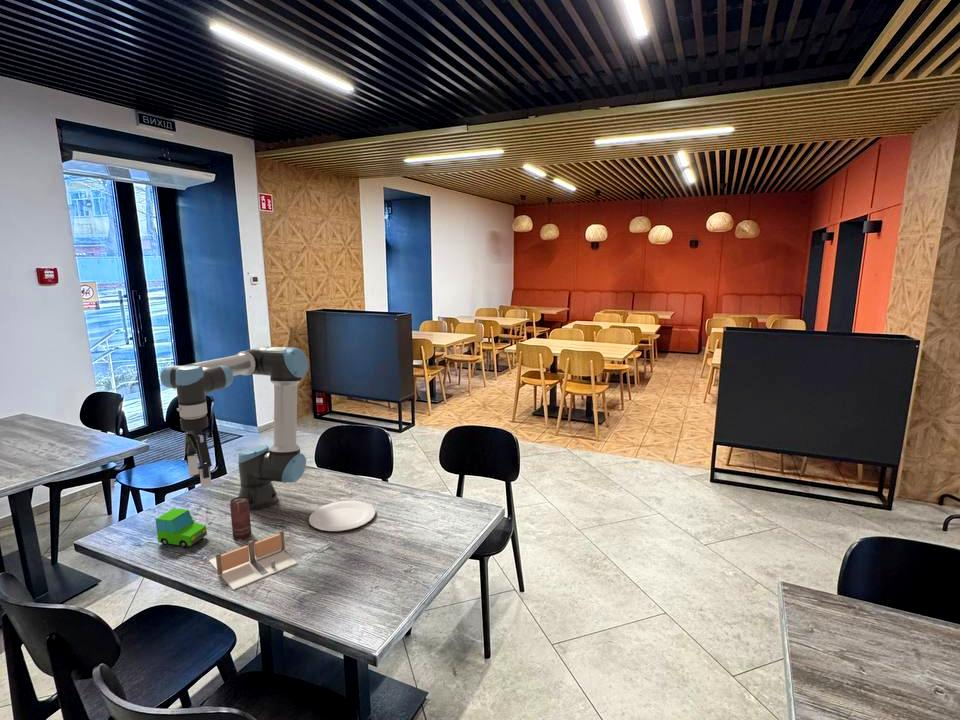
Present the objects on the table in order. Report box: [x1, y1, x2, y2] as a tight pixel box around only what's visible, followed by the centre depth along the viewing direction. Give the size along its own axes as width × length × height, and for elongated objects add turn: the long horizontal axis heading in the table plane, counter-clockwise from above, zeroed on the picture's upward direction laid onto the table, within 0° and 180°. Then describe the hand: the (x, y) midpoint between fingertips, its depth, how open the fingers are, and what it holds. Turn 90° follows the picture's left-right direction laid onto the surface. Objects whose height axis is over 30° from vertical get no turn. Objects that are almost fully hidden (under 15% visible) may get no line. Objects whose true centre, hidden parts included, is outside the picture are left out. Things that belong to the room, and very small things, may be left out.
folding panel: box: [215, 545, 249, 576], centre depth 163 cm, size 10×1×7 cm, turn 135°
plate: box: [308, 500, 376, 533], centre depth 198 cm, size 25×25×2 cm
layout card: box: [208, 542, 298, 591], centre depth 168 cm, size 20×22×2 cm
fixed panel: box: [248, 529, 286, 563], centre depth 171 cm, size 12×2×7 cm, turn 135°
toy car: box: [155, 507, 208, 549], centre depth 180 cm, size 10×13×10 cm
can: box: [229, 497, 252, 541], centre depth 183 cm, size 6×6×14 cm
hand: (200, 480), depth 162 cm, fingers open, 13 cm apart
